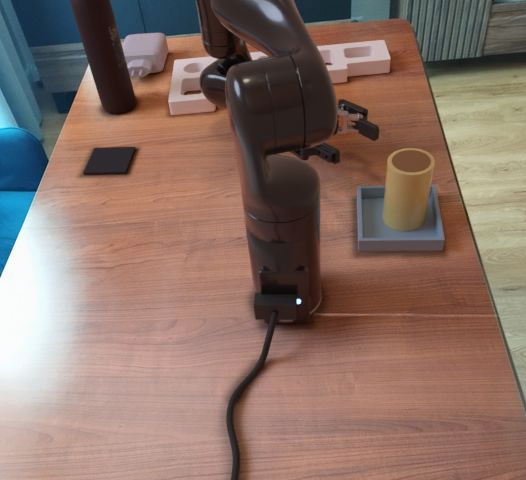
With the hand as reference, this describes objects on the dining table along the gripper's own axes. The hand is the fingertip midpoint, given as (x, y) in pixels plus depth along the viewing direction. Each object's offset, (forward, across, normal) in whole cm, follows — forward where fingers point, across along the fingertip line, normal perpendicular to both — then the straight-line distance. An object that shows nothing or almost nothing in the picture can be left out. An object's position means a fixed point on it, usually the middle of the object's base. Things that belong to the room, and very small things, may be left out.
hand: (358, 146), depth 89 cm
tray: (+10, -2, +9) cm, 13 cm away
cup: (+10, 0, +8) cm, 13 cm away
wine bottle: (-56, -12, +9) cm, 58 cm away
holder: (-37, +16, +9) cm, 42 cm away
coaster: (-39, -24, +9) cm, 47 cm away
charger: (-65, 0, +9) cm, 65 cm away
